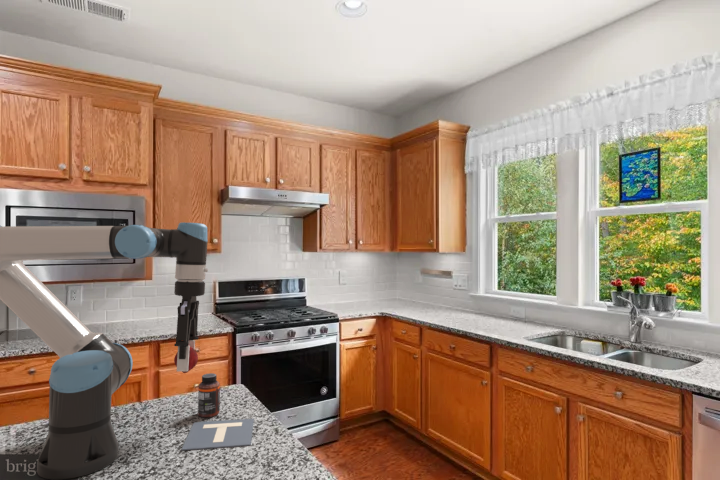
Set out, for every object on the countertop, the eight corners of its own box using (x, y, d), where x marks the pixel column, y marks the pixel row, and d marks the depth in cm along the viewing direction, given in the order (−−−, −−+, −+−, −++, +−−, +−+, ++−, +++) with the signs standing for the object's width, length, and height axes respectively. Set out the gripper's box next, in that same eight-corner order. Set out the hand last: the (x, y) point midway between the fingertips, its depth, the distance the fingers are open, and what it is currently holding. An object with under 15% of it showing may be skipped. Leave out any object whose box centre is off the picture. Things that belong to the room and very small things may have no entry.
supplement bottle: (215, 408, 127) (215, 370, 127) (222, 415, 122) (223, 375, 123) (194, 413, 123) (195, 374, 123) (201, 420, 119) (202, 379, 119)
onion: (201, 371, 115) (202, 341, 115) (189, 377, 109) (191, 345, 110) (181, 369, 116) (182, 339, 116) (169, 375, 110) (170, 344, 110)
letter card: (181, 450, 101) (181, 448, 101) (193, 423, 116) (194, 421, 116) (250, 445, 104) (250, 443, 104) (253, 419, 119) (253, 418, 119)
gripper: (197, 283, 105) (192, 378, 104) (211, 278, 123) (207, 358, 122) (165, 282, 103) (159, 378, 103) (184, 277, 122) (179, 358, 121)
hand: (185, 367), depth 113 cm, fingers closed on onion, 6 cm apart
